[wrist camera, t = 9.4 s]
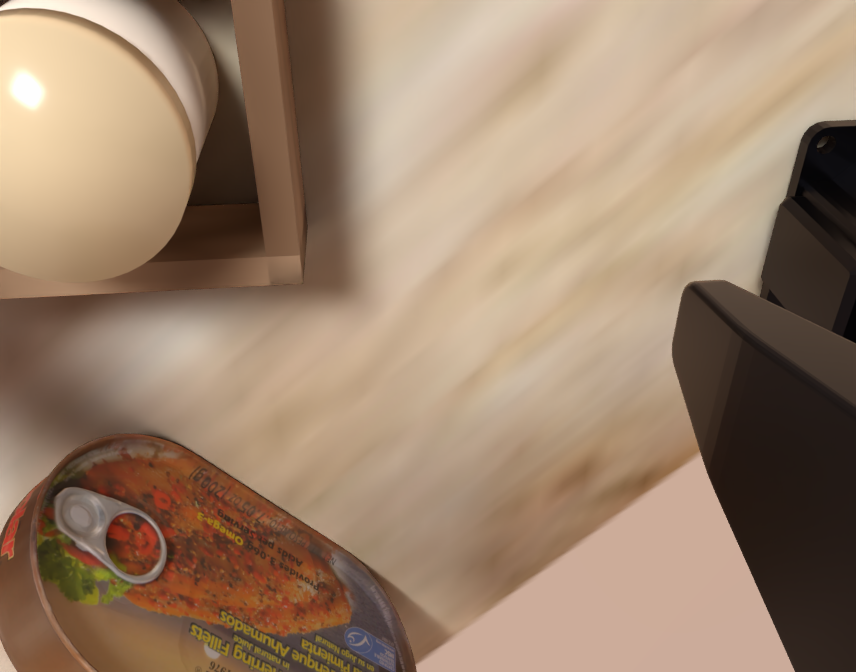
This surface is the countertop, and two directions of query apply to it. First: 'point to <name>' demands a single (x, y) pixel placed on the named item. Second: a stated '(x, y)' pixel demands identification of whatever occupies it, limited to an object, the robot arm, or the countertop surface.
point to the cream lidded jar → (98, 132)
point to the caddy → (230, 223)
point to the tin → (180, 575)
